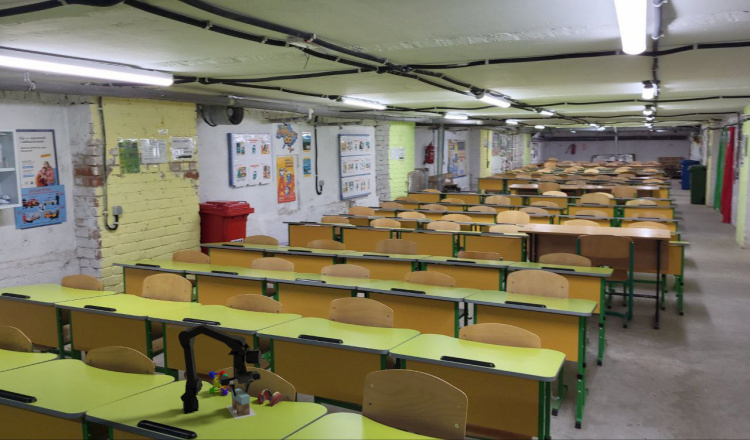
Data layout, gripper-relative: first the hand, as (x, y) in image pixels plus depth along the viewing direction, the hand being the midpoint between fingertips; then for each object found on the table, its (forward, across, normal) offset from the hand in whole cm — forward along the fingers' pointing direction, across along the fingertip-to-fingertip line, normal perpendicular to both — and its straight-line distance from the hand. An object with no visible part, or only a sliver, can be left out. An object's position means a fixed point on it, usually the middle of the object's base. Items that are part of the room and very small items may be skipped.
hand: (240, 395), depth 280 cm
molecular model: (+8, -3, +28) cm, 29 cm away
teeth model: (+8, +16, +3) cm, 18 cm away
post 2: (+7, 0, -4) cm, 8 cm away
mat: (+8, 0, 0) cm, 8 cm away
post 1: (+7, 0, +4) cm, 8 cm away
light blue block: (+2, 0, 0) cm, 2 cm away
